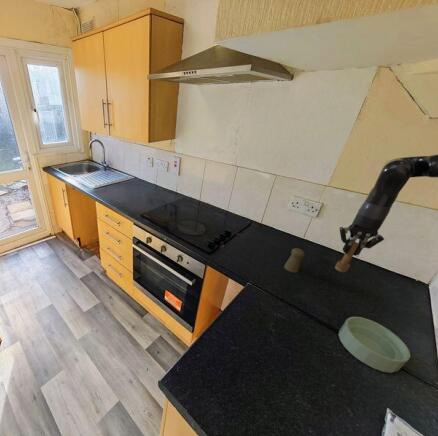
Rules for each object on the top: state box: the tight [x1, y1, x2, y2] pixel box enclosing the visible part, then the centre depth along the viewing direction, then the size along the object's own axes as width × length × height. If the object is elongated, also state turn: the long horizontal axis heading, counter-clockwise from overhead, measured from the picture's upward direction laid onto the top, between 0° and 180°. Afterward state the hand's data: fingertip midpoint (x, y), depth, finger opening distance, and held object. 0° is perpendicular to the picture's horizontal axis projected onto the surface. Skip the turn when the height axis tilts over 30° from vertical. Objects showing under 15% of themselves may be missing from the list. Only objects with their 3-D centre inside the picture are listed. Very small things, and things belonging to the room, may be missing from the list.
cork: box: [283, 247, 306, 274], centre depth 107 cm, size 6×6×11 cm
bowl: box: [338, 316, 411, 374], centre depth 72 cm, size 15×15×6 cm
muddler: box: [334, 241, 359, 274], centre depth 90 cm, size 4×4×13 cm
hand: (349, 253), depth 90 cm, fingers closed on muddler, 2 cm apart
